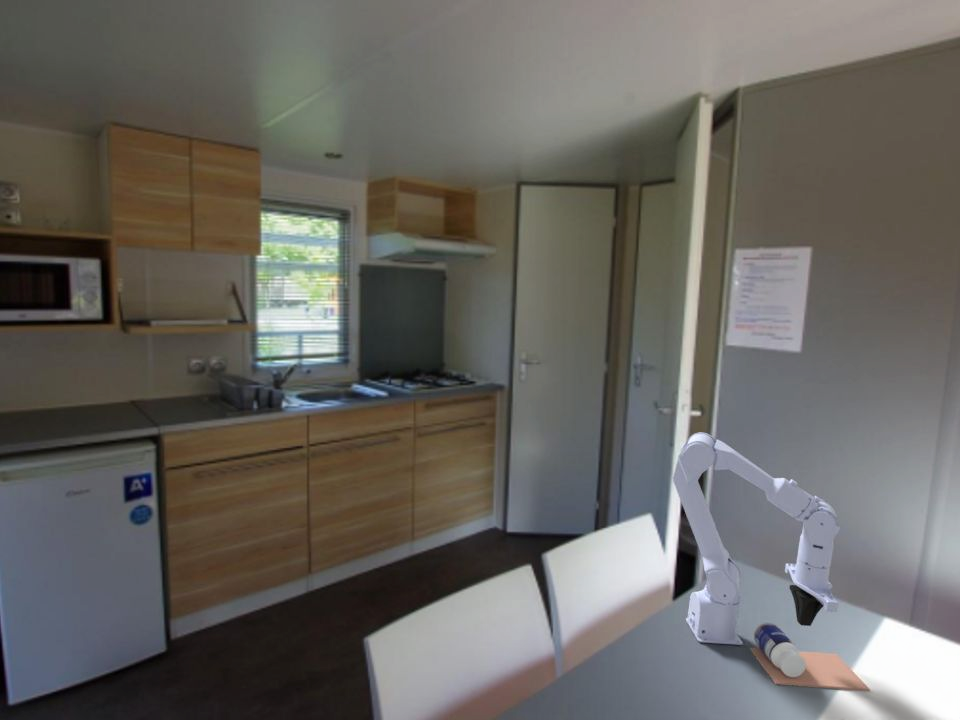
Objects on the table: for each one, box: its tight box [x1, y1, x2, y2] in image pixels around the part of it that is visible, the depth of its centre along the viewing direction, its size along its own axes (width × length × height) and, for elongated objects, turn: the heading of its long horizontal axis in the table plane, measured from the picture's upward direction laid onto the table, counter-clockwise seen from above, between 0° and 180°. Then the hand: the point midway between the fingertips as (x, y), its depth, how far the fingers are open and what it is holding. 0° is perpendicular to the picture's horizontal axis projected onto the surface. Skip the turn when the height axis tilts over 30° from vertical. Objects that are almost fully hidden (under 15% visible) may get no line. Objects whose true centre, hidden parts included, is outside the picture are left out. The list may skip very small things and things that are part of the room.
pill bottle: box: [753, 621, 806, 677], centre depth 108 cm, size 6×6×10 cm
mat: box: [749, 647, 871, 692], centre depth 107 cm, size 18×10×1 cm, turn 89°
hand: (803, 623), depth 109 cm, fingers closed
